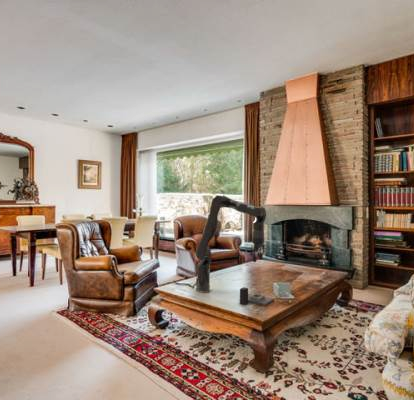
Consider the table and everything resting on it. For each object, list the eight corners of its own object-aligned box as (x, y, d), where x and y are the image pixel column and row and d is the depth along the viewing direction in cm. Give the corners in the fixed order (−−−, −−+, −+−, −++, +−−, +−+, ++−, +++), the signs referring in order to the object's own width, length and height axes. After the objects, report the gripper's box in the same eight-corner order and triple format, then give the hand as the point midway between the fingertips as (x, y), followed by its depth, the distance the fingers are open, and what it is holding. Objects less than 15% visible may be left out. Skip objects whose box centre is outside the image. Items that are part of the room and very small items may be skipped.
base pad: (240, 300, 213) (240, 295, 213) (250, 295, 224) (250, 290, 224) (264, 306, 202) (264, 301, 202) (273, 300, 213) (273, 295, 213)
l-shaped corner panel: (278, 298, 218) (278, 287, 218) (273, 292, 230) (273, 282, 230) (295, 298, 218) (295, 287, 218) (289, 292, 230) (289, 282, 230)
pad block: (239, 303, 206) (239, 288, 206) (243, 301, 210) (243, 287, 210) (244, 304, 204) (244, 289, 204) (248, 303, 208) (248, 288, 208)
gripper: (258, 234, 214) (257, 258, 215) (247, 237, 203) (247, 261, 204) (268, 236, 209) (267, 259, 210) (258, 238, 199) (257, 263, 199)
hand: (257, 260), depth 207 cm, fingers open, 8 cm apart
